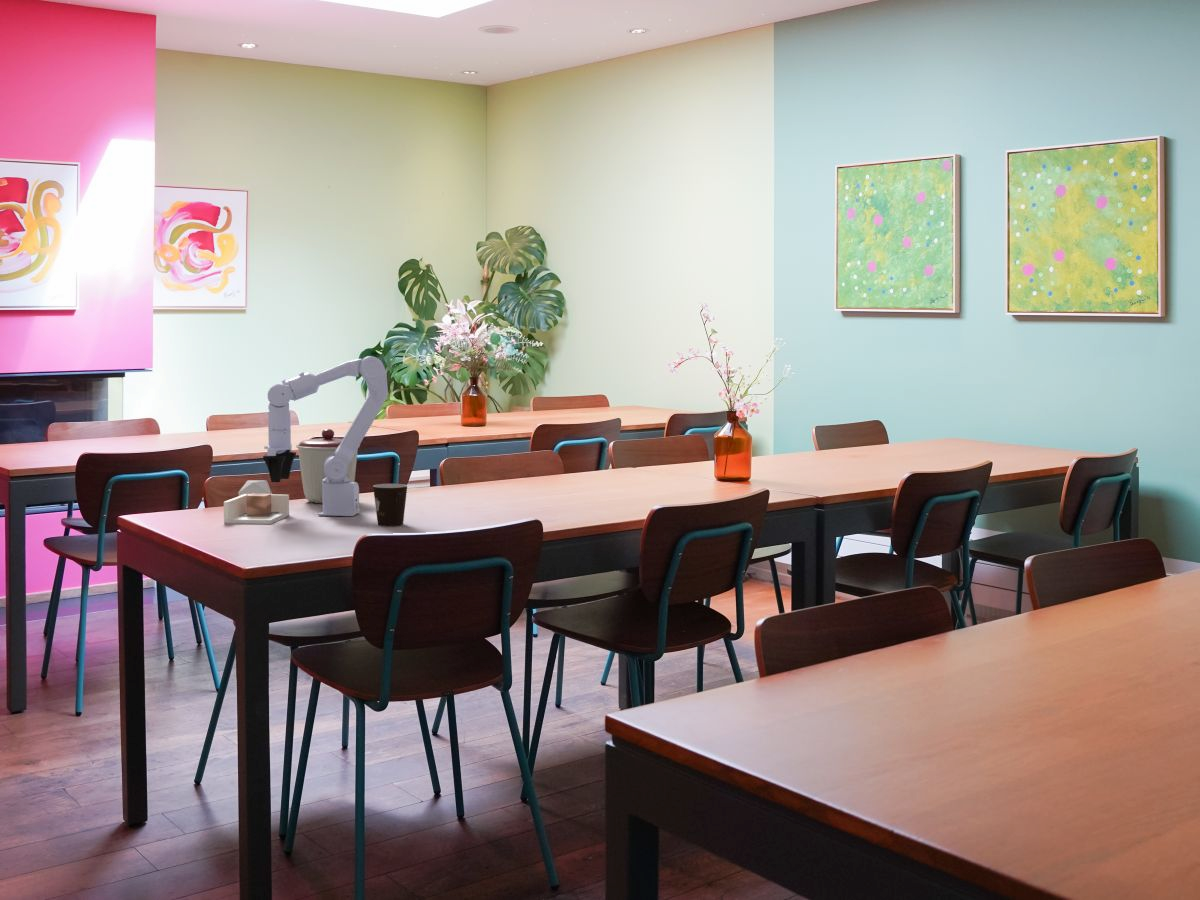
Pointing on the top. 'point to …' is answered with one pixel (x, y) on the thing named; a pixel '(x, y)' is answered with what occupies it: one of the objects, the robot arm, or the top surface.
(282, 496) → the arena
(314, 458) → the canister
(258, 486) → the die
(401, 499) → the coffee mug
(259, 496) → the cube
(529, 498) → the top surface
